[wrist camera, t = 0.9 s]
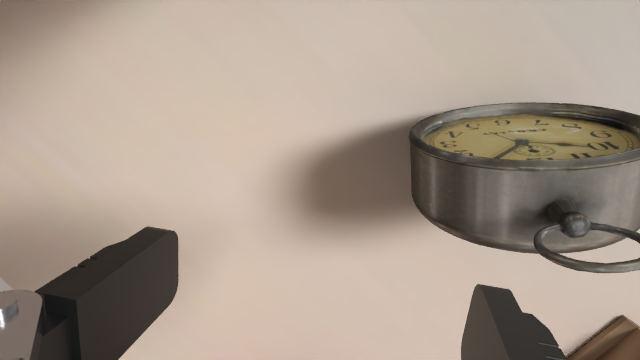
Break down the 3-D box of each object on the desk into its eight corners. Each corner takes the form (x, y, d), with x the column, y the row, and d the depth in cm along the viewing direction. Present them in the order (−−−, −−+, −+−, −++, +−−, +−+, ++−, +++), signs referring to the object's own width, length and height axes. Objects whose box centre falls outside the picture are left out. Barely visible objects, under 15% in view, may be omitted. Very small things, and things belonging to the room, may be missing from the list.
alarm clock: (589, 93, 25) (885, 175, 10) (580, 177, 26) (821, 359, 11) (406, 107, 27) (414, 189, 12) (409, 183, 29) (419, 340, 14)
